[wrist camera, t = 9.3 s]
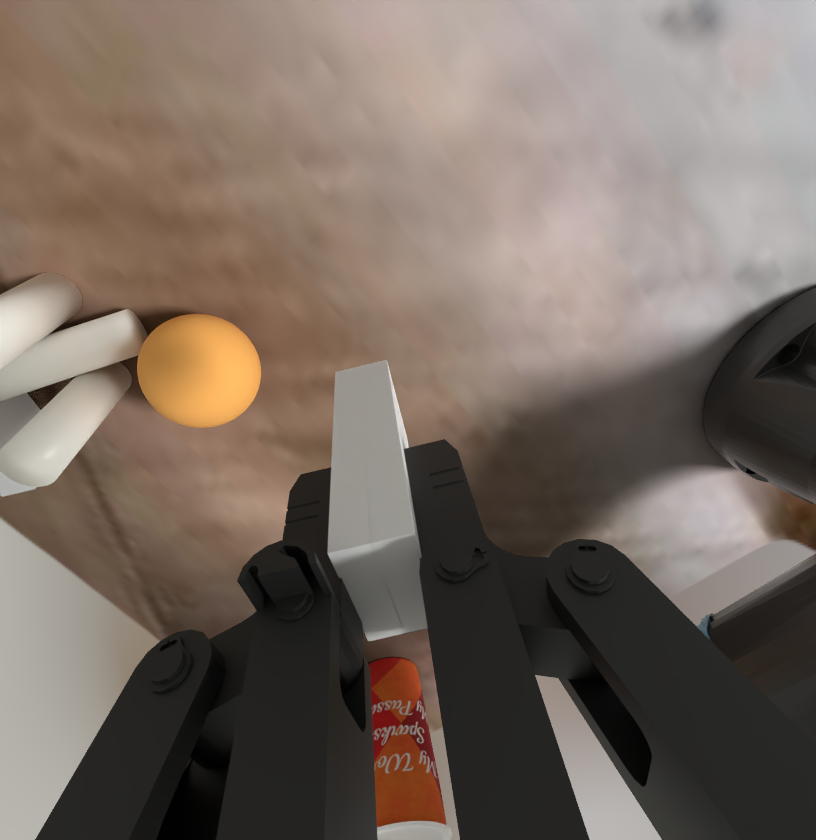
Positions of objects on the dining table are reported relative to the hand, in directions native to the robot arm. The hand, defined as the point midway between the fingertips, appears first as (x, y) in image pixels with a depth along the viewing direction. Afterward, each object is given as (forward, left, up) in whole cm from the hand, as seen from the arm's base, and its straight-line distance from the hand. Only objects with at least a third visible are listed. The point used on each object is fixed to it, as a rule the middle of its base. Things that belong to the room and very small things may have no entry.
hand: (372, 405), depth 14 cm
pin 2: (+16, +2, -14) cm, 22 cm away
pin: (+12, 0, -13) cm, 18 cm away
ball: (+9, +2, -11) cm, 15 cm away
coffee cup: (+8, +41, -15) cm, 44 cm away
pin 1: (+16, -3, -14) cm, 22 cm away
